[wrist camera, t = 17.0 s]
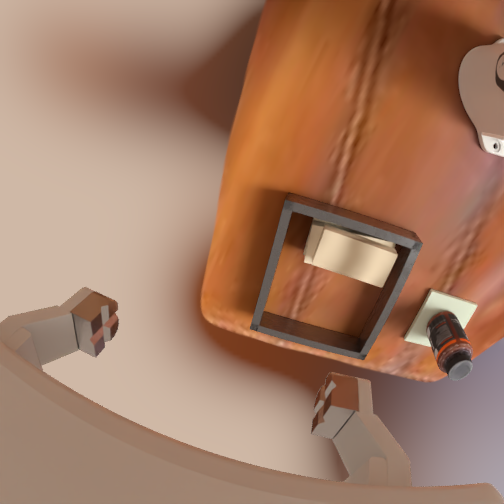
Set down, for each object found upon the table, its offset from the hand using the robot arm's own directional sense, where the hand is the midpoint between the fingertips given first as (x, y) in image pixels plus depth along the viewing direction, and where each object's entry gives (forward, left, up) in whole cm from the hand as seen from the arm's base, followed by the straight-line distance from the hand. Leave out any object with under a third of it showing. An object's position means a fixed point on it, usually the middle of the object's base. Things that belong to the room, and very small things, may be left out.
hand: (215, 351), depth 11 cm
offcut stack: (-10, +7, -34) cm, 36 cm away
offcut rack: (-9, +13, -34) cm, 38 cm away
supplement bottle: (-30, +15, -34) cm, 47 cm away
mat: (-30, +15, -34) cm, 48 cm away
